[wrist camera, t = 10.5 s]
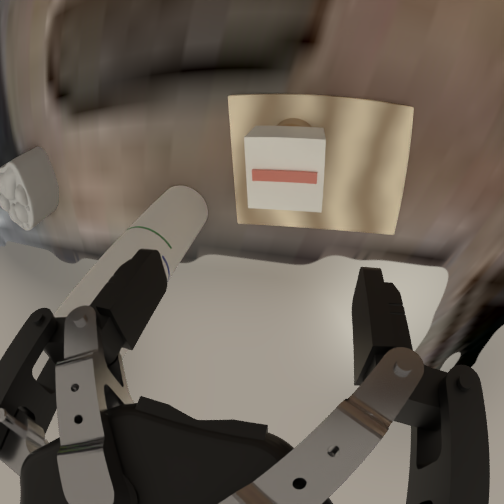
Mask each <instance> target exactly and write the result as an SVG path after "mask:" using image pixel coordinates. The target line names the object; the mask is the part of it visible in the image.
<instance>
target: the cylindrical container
mask: <svg viewBox="0 0 504 504" xmlns="http://www.w3.org/2000/svg"><path fill="white" fill-rule="evenodd" d="M207 217H208V208H207V205H206V202H205V200H204V199H203V197H202V196H201V195H200V194H199V193H198V192H197V191H195V190H194V189H192V188H190V187H187V186H182V185H178V186H173V187H171V188H169V189H168V190H167V191H166V192H165V193H163V194H162V195H161V196H160V197H159V198H158V199H157V200H156V201H155V202H154V203H153V204H152V205H151V206H150V207H149V208H148V209H147V210H146V211H145V212H144V213H143V214H142V215H141V216H140V217H139V218H138V219H137V220H136V221H135V222H134V223H133V224H132V225H131V226H130V227H129V228H128V229H127V230H126V231H125V232H124V233H123V234H122V235H121V236H120V237H119V238H118V239H117V240H116V241H115V242H114V244H113V245H112V246H111V247H110V248H109V249H108V250H107V251H106V252H105V253H104V254H103V256H102V257H101V258H100V259H99V260H98V261H97V262H96V263H95V265H94V266H93V267H92V268H91V269H90V270H89V272H88V273H87V274H86V275H85V276H84V277H83V278H82V280H81V281H80V282H79V283H78V284H77V286H76V287H75V288H74V289H73V290H72V292H71V293H70V294H69V295H68V297H67V298H66V299H65V300H64V302H63V303H62V304H61V306H60V307H59V308H58V309H57V311H56V312H55V313H54V317H67V316H68V314H69V313H70V312H71V311H72V310H74V309H75V308H77V307H80V306H84V305H87V306H89V305H90V304H91V303H92V301H93V300H94V299H95V297H96V296H97V295H98V293H99V292H100V291H101V290H102V288H103V287H104V286H105V284H106V283H107V282H108V281H109V279H110V278H111V277H112V276H114V273H115V272H116V270H117V269H118V268H119V267H120V266H121V265H122V264H124V263H125V262H126V261H128V260H129V259H132V258H133V256H134V255H135V254H136V253H137V251H138V250H139V249H153V250H158V251H159V253H160V256H161V259H162V263H163V266H164V270H165V273H166V277H167V282H168V280H169V279H170V277H171V276H172V274H173V272H174V271H175V269H176V268H177V266H178V264H179V263H180V261H181V260H182V258H183V256H184V255H185V253H186V252H187V250H188V248H189V247H190V245H191V244H192V242H193V241H194V239H195V238H196V236H197V235H198V233H199V232H200V230H201V229H202V227H203V226H204V224H205V222H206V220H207ZM127 351H128V349H126V348H121V350H120V354H121V357H122V360H123V358H124V356H125V354H126V352H127Z"/></svg>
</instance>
